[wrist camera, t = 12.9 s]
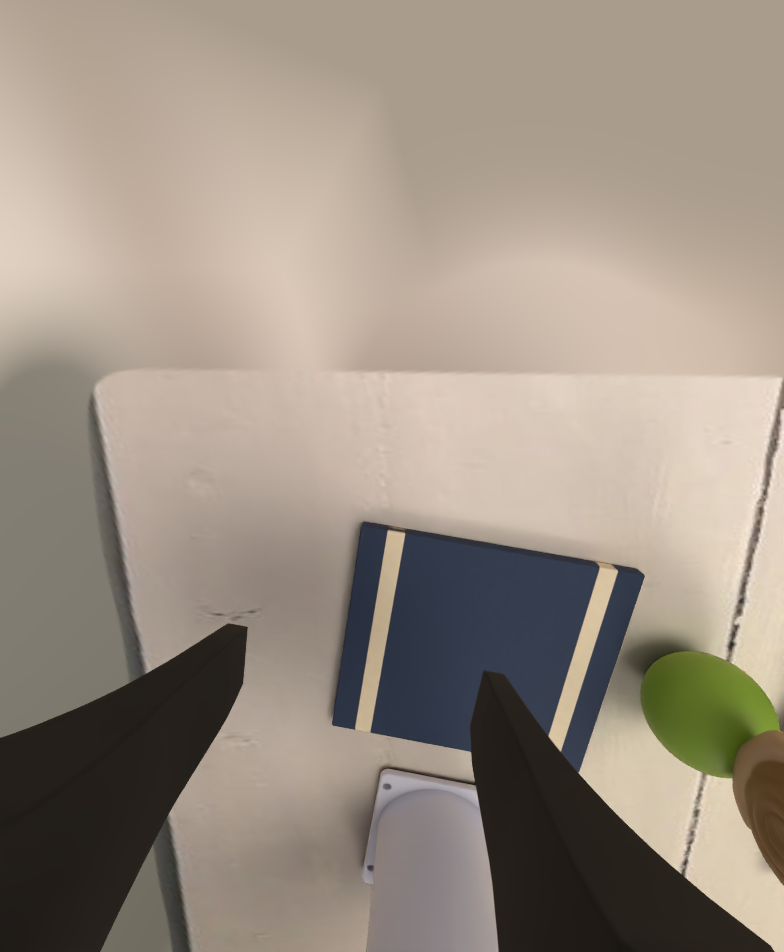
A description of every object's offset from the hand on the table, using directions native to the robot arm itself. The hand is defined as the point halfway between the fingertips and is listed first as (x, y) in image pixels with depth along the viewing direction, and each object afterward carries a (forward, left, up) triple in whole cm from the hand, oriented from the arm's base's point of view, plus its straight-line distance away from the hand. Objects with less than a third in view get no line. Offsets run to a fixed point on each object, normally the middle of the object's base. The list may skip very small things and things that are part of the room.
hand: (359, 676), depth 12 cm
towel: (-6, -6, -10) cm, 13 cm away
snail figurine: (-4, -17, -11) cm, 20 cm away
